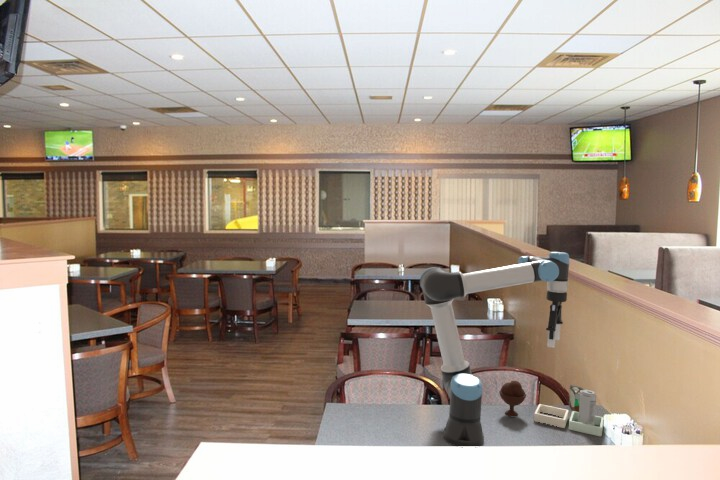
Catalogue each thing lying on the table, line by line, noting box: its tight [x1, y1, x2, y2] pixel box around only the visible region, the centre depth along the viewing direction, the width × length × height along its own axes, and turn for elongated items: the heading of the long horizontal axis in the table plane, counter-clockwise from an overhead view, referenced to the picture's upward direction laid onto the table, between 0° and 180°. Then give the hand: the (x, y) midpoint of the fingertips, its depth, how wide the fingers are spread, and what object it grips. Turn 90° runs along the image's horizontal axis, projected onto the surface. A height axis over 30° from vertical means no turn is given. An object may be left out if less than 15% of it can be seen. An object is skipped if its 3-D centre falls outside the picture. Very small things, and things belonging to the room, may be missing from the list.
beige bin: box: [533, 403, 570, 429], centre depth 215 cm, size 12×12×4 cm
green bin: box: [568, 411, 605, 437], centre depth 209 cm, size 12×12×4 cm
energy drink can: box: [577, 389, 597, 426], centre depth 208 cm, size 6×6×15 cm
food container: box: [568, 384, 586, 413], centre depth 224 cm, size 12×6×10 cm, turn 168°
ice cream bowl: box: [499, 380, 527, 417], centre depth 219 cm, size 11×11×15 cm
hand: (553, 343), depth 205 cm, fingers open, 13 cm apart
